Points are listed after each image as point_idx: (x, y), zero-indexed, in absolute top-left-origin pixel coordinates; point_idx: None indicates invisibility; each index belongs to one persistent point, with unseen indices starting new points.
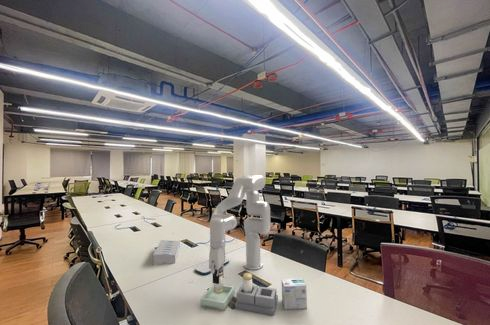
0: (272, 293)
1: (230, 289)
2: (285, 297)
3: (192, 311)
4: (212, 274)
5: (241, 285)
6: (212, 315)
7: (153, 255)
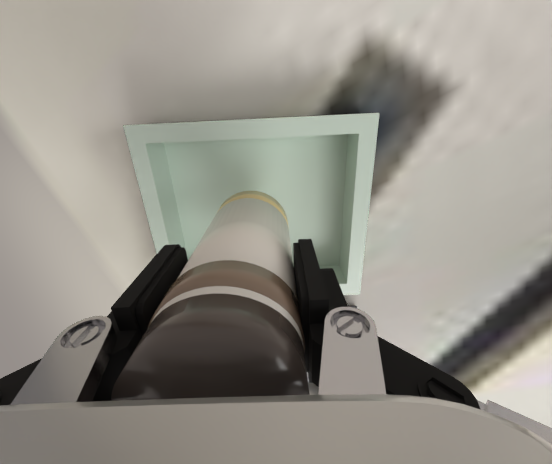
0: None
1: (344, 261)
2: None
3: (80, 93)
4: (62, 340)
5: None
6: (124, 233)
7: None
